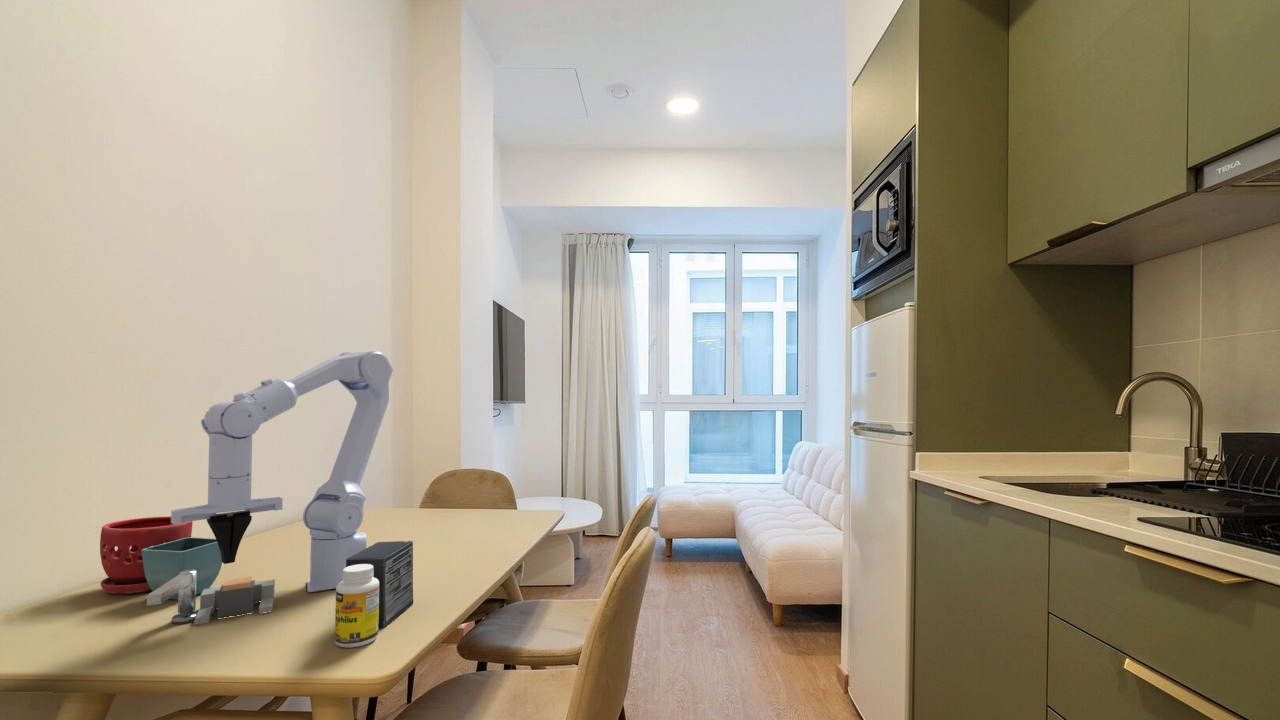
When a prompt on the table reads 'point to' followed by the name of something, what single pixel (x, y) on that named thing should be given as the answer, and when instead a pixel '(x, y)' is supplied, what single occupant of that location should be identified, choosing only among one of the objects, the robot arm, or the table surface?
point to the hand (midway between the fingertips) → (228, 562)
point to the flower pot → (182, 562)
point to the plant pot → (134, 550)
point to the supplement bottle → (357, 607)
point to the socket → (210, 596)
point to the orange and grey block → (236, 597)
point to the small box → (390, 576)
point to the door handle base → (184, 617)
